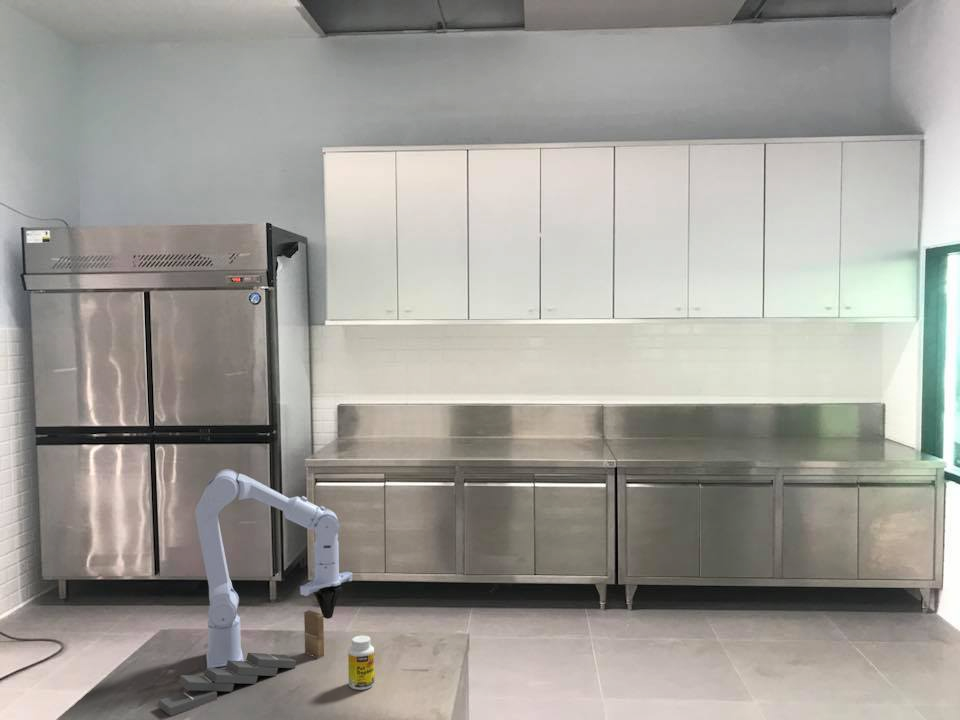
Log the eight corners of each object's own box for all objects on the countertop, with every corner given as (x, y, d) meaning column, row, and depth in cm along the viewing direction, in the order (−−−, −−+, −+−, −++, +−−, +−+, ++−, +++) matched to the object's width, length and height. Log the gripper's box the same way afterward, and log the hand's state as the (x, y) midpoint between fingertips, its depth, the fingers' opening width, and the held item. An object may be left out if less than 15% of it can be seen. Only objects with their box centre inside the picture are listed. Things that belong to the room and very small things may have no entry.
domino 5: (285, 654, 182) (248, 652, 175) (296, 660, 179) (259, 658, 172) (282, 662, 182) (245, 660, 175) (294, 668, 178) (257, 667, 172)
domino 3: (246, 668, 175) (206, 667, 168) (258, 675, 171) (217, 674, 164) (244, 677, 174) (203, 676, 167) (255, 684, 171) (214, 683, 164)
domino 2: (205, 684, 167) (159, 699, 160) (217, 692, 164) (170, 707, 156) (205, 693, 167) (159, 708, 160) (217, 700, 164) (170, 716, 156)
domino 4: (266, 661, 178) (227, 659, 172) (278, 668, 175) (239, 666, 168) (264, 669, 178) (225, 668, 171) (275, 676, 175) (236, 675, 168)
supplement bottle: (355, 693, 166) (354, 645, 165) (344, 683, 170) (343, 637, 170) (379, 686, 169) (378, 640, 168) (367, 677, 173) (367, 631, 173)
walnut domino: (310, 651, 188) (310, 610, 188) (324, 656, 185) (323, 614, 185) (304, 653, 187) (303, 612, 186) (318, 658, 184) (317, 616, 183)
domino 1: (225, 676, 171) (180, 674, 165) (234, 683, 167) (189, 681, 161) (222, 684, 171) (178, 683, 164) (232, 692, 167) (186, 690, 161)
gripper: (313, 571, 180) (314, 630, 181) (360, 557, 191) (361, 612, 192) (294, 566, 185) (295, 623, 185) (341, 552, 196) (342, 606, 196)
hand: (327, 617), depth 189 cm, fingers closed
